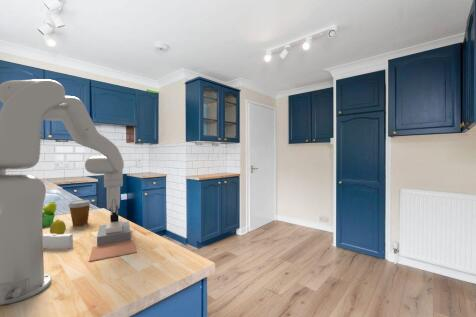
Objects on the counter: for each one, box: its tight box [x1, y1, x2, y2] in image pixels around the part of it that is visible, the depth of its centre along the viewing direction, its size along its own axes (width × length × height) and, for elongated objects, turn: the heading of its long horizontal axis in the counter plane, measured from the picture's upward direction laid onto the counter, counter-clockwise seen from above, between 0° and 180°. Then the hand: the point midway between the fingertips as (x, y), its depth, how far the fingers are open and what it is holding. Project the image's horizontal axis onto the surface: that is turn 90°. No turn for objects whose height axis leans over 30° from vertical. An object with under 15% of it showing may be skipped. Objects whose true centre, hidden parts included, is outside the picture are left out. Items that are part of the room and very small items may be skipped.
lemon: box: [49, 219, 67, 234], centre depth 100 cm, size 6×6×8 cm
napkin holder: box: [43, 233, 74, 250], centre depth 90 cm, size 15×11×6 cm
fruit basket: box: [42, 201, 58, 228], centre depth 119 cm, size 11×9×11 cm
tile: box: [106, 220, 123, 234], centre depth 98 cm, size 9×6×2 cm, turn 27°
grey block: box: [96, 221, 132, 246], centre depth 99 cm, size 16×12×4 cm
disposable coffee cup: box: [67, 199, 91, 227], centre depth 117 cm, size 10×10×12 cm
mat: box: [88, 239, 137, 263], centre depth 87 cm, size 13×15×1 cm
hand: (114, 222), depth 104 cm, fingers closed
